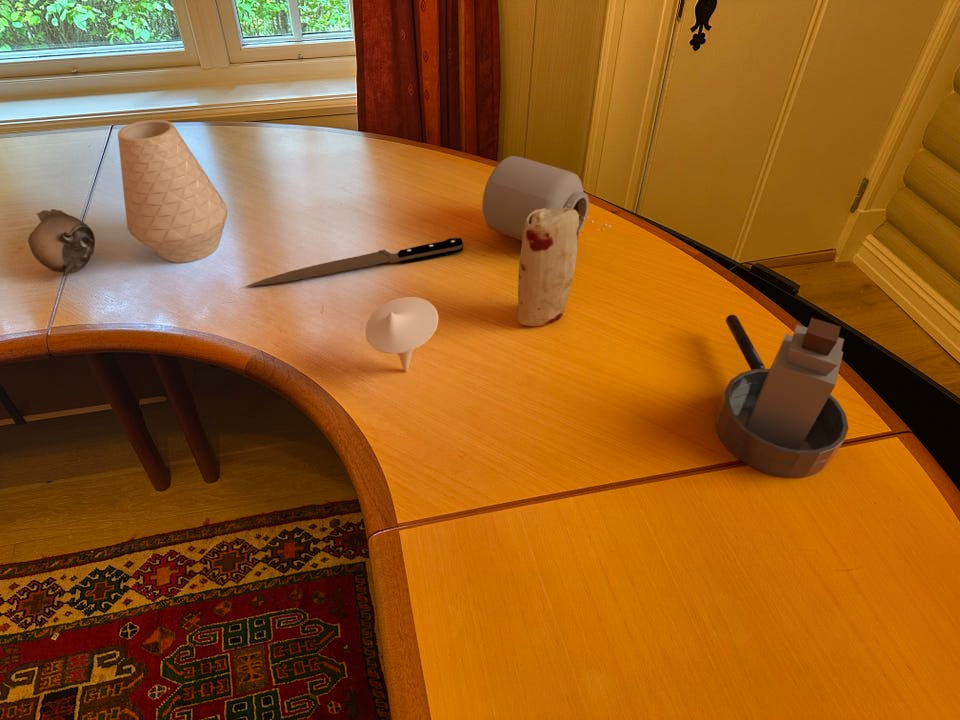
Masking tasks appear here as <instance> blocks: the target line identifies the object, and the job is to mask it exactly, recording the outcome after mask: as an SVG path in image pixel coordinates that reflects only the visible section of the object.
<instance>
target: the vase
mask: <svg viewBox="0 0 960 720" xmlns="http://www.w3.org/2000/svg"><path fill="white" fill-rule="evenodd" d="M117 141H118V148H119V149H118V150H119V160H120V171H121V180H122V189H123V199H124V209H125V217H126V218H125V219H126V220H125V221H126V228H127V230H128V232H129V234H130V235H131V236H132V237H133V238H135V239H136V240H137V241H138V242H140V243H141V244H143V245H144V246H145V247H147V248H148V250H151V251H152V252H153V253H155V254H156V255H157V256H158V257H160V258H161V259H162V260H165V261H166V262H169V263H177V264H178V263H179V264H181V263H182V264H183V263H185V264H186V263H192V262H195V261H199V260H202V259H205V258H207V257H209V256H210V255H212V254H213V253H214V252H215V251H216V250H217V249H218V248H219V246H220V243H221V239H222V236H223V231H224V228H225V224H226V221H227V217H228V213H229V212H228V206H227V203H226V202H225V201H224V199H223V197H222V196H221V195H220V193H219V192H218V190H217V189H216V187H215V185H214V184H213V182H212V181H211V179H210V177H209V176H208V174H207V173H206V172H205V171H204V169H203V167H202V166H201V164H200V163H199V161H198V159H196V156H195V155H194V153H193V152H192V151H191V149H190V148H189V146H188V144H187V143H186V141H185V140H184V138H183V137H182V136H181V134H180V132H179V130H178V129H177V128H176V127H175V125H174V124H173V123H172V122H171V121H168V120H165V119H145V120H140V121H136V122H132V123H129V124H127V125H125V126H123V127H121V128H120V129H119V130H118V132H117Z"/></svg>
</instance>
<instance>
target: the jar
mask: <svg viewBox="0 0 960 720" xmlns="http://www.w3.org/2000/svg"><path fill="white" fill-rule="evenodd" d="M589 206H590V199H589V196H588V193H586V192H584V188H583V184H582V180H581V179H580V177H579V175H578V174H576V173H574V172H572V171H569V170H566V169H562V168H561V167H560V168H559V167H556V166H552V165H549V164H545V163H542V162H539V161H536V160H532V159H528V158H525V157H522V156H516V155H511V156H508V157H506V158H504V159H502V160H501V161H500V162H498V164H497V165H496V166H495V167H494V169H493V170H492V172H491V173H490V175H489V176H488V179H487V181H486V184H485V187H484V190H483V194H482V216H483V219H484V222H485V223H486V225H487V227H488V228H489V229H490V230H492V231H494V232H496V233H499V234H501V235H504V236H507V237H510V238H513V239H516V240H518V241H520V242H522V241H523V233H524V226H525V221H526V218H527V217H528V216H529V215H530V213H532V212H534V211H535V210H539V209H544V208H545V209H546V210H555V209H562V208H571V209H574V210H576V211H577V213H578V215H579V231H578V235H579V234H580V233H581V231H582V229H583V227H584V225H585V222H586V220H588V219H589V218H590V217H589V216H588V212H589ZM600 222H603V220H602V219H601V220H600ZM590 223H591V224H593V223H594V220H592V219H591V220H590ZM603 226H604V227H607V228H611V225H610V224H609V225H608V224H607V223H604V224H603ZM597 231H600V228H598V229H597ZM601 231H602V232H604V231H605V229H604V228H602V230H601Z"/></svg>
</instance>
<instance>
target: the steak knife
mask: <svg viewBox="0 0 960 720" xmlns="http://www.w3.org/2000/svg"><path fill="white" fill-rule="evenodd" d="M464 247H465V243H464V242H463V239H462V238H461V237H452V238H451V237H450V238H447V239H445V240H442V241H437V242H431V243H426V244H421V245H416V246H413V247H408V248H403V249H400V250H399V251H397V253H391V252H389V251H387V250H386V249H381V250H378V251H375V252H371V253H367V254H362V255H357V256H353V257H348V258H342V259H337V260H333V261H328V262H324V263H320V264H319V263H318V264H314V265H311V266H310V265H309V266H307V267H303V268H297V269H293V270H289V271H287V272H283V273H280V274H277V275H273V276H270V277H267V278H264V279H261V280H258V281H255V282H253V283H250V284H248V285H246V286H244V288H247V287H256V286H267V285H274V284H281V283H287V282H294V281H299V280H304V279H309V278H314V277H320V276H325V275H330V274H334V273H339V272H345V271H350V270H354V269H355V270H356V269H360V268H365V267H371V266H376V265H379V264H385V263H389V264H392V263H397V262H400V263H401V264H403V265H404V264H408V263H414V262H419V261H424V260H428V259H434V258H439V257H445V256H450V255H453V254H459V253H461V252H463V251H464Z"/></svg>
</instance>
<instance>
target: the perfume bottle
mask: <svg viewBox="0 0 960 720" xmlns="http://www.w3.org/2000/svg"><path fill="white" fill-rule="evenodd" d="M841 328H842V327H841V326H840V325H837V324H833V323H831V322H827V321H824V320H820V319H818V318H814V317H811V318H810V321H809V324H808V326H807V327H806V326H803V325H800V324H796V326H795V329H794V332H793V335H792V334H788V333H785V335H784V337H783V339H782V341H781V344H780V345H779V348H778V350H777V352H776V355H775V356H774V359H773V361H772V364H771V366H770V368H769V369H770V370H769V372H768V375H767V377H766V379H765V381H764V384H763V386H762V388H761V390H760V392H759V395H758V397H757V399H756V401H755V403H754V406H753V408H752V411H751V414H750V417H749V419H748V422H747V425H746V428H747V429H749V430H750V431H751V432H753V433H754V434H756V435H757V436H759V437H760V438H762V439H764V440H766V441H768V442H771V443H773V444H775V445H778V446H780V447H785V448H790V449H795V450H799V449H800V447H801V445H802V443H803V442H804V440H805V438H806V436H807V435H808V433H809V431H810V429H811V428H812V426H813V424H814V422H815V420H816V419H817V417H818V415H819V413H820V412H821V410H822V408H823V406H824V405H825V403H826V401H827V399H828V397H829V396H830V394H831V395H832V392H833V391H834V389H835V386H836V385H837V381H838V376H839V372H840V367H841V364H842V359H843V355H844V351H842V350H843V347H844V342H845V338H842V337H839V336H840V331H841Z"/></svg>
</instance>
